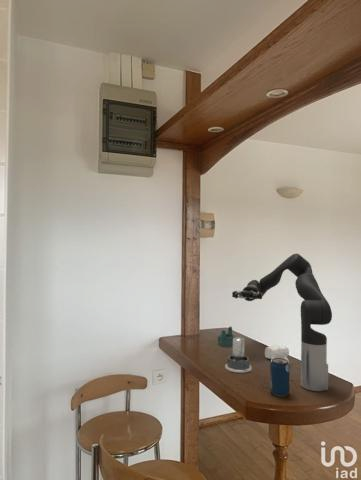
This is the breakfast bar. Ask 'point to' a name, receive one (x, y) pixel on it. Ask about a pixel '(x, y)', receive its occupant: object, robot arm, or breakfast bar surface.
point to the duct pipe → (238, 349)
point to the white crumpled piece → (277, 352)
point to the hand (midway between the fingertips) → (244, 296)
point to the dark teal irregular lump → (226, 338)
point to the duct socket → (238, 365)
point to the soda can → (279, 377)
